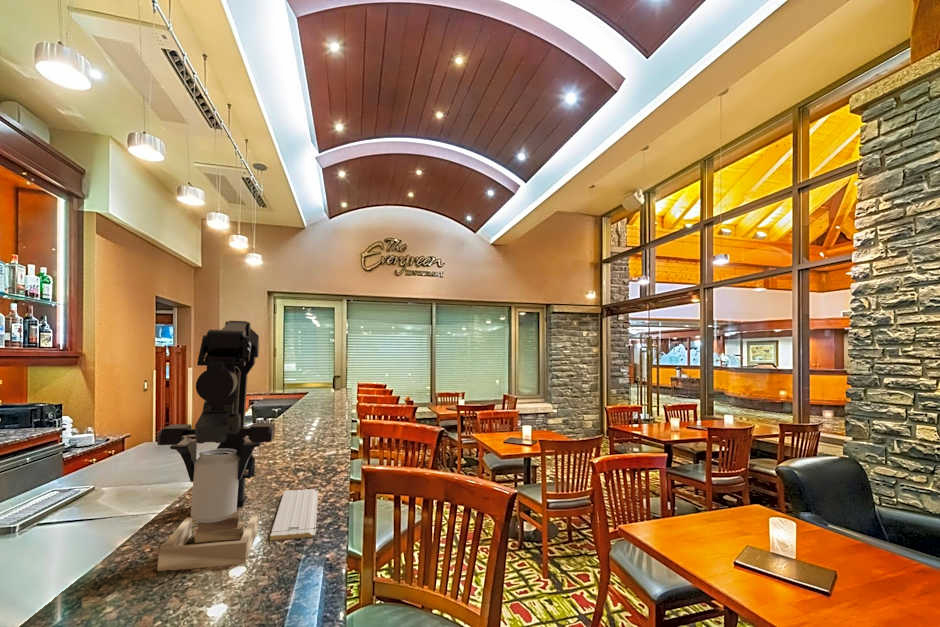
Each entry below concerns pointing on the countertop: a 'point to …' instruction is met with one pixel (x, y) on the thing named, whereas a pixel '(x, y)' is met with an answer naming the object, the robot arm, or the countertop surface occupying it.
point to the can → (215, 485)
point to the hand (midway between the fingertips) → (216, 480)
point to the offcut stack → (220, 530)
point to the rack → (205, 549)
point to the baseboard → (296, 515)
